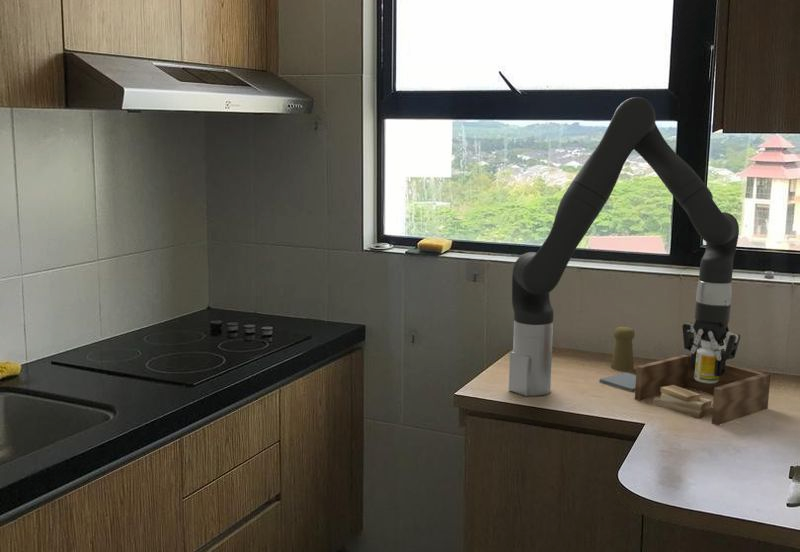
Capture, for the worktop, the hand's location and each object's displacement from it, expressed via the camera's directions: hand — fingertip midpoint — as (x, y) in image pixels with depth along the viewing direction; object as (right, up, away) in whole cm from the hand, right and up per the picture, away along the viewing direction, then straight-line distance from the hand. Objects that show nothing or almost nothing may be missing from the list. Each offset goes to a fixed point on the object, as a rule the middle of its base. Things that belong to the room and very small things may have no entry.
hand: (707, 372), depth 204 cm
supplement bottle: (0, -2, 0) cm, 2 cm away
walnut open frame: (-2, -7, 0) cm, 8 cm away
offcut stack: (-7, -8, -4) cm, 11 cm away
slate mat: (-14, -5, +15) cm, 22 cm away
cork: (-12, -2, +29) cm, 32 cm away
